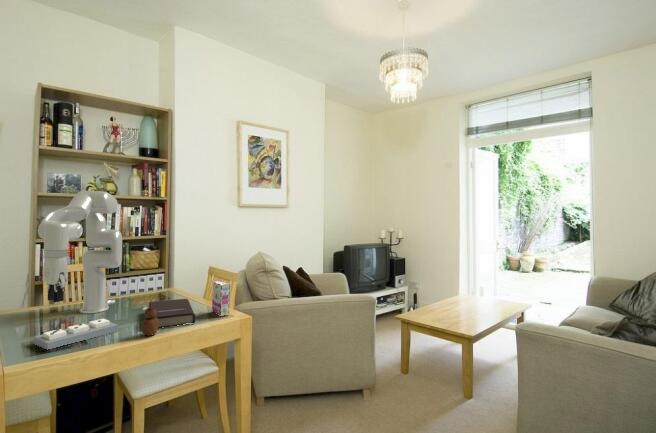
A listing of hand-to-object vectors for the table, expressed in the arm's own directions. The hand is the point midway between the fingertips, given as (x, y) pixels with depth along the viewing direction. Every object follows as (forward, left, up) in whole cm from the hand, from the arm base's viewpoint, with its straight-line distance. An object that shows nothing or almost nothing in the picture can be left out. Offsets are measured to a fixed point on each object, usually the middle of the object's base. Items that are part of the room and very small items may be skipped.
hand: (55, 300), depth 131 cm
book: (-45, +8, -18) cm, 49 cm away
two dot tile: (-8, 0, -16) cm, 18 cm away
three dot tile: (0, 0, -16) cm, 16 cm away
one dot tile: (-16, 0, -16) cm, 22 cm away
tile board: (-8, 0, -17) cm, 19 cm away
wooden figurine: (-26, +21, -18) cm, 38 cm away
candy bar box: (-63, +22, -18) cm, 69 cm away
